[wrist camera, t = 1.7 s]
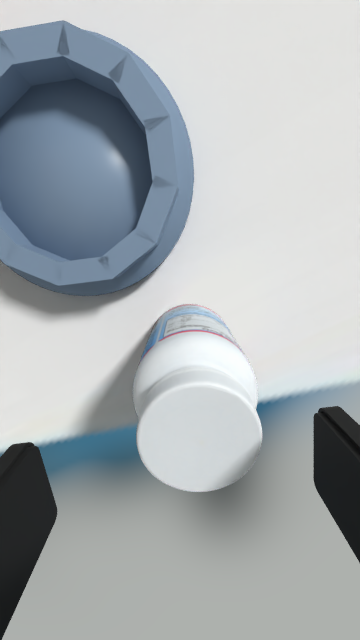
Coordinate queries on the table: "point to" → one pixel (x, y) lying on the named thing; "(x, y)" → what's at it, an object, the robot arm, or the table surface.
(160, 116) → the round tray
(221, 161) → the table surface
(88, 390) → the table surface
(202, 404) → the pill bottle
